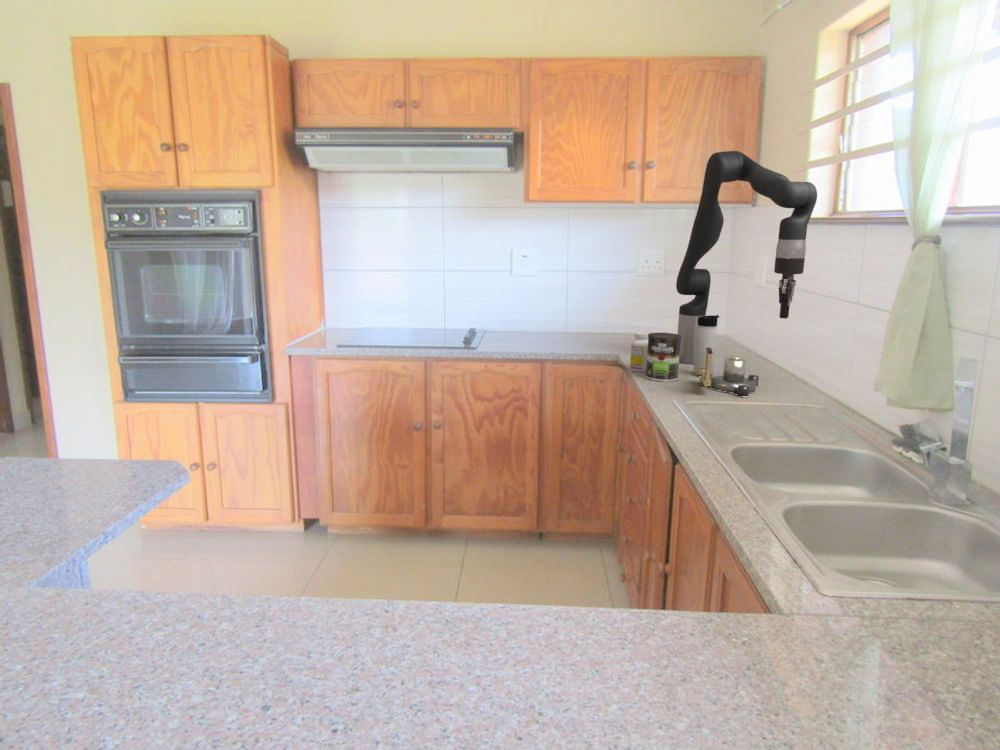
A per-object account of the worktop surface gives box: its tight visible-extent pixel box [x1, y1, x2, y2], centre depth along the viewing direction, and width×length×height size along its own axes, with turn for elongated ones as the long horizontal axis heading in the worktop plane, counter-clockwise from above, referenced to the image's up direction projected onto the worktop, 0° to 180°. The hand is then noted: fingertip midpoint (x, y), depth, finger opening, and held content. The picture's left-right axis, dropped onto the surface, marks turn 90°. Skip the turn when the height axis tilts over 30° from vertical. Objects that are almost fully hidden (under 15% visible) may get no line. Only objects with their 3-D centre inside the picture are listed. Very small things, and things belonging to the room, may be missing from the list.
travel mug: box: [692, 314, 720, 377], centre depth 216 cm, size 6×7×20 cm
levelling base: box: [699, 355, 760, 397], centre depth 201 cm, size 19×16×10 cm
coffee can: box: [645, 332, 681, 383], centre depth 212 cm, size 10×10×14 cm
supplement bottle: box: [629, 331, 650, 373], centre depth 223 cm, size 7×7×13 cm
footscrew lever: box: [696, 348, 713, 387], centre depth 198 cm, size 17×4×10 cm, turn 167°
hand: (783, 317), depth 188 cm, fingers closed
